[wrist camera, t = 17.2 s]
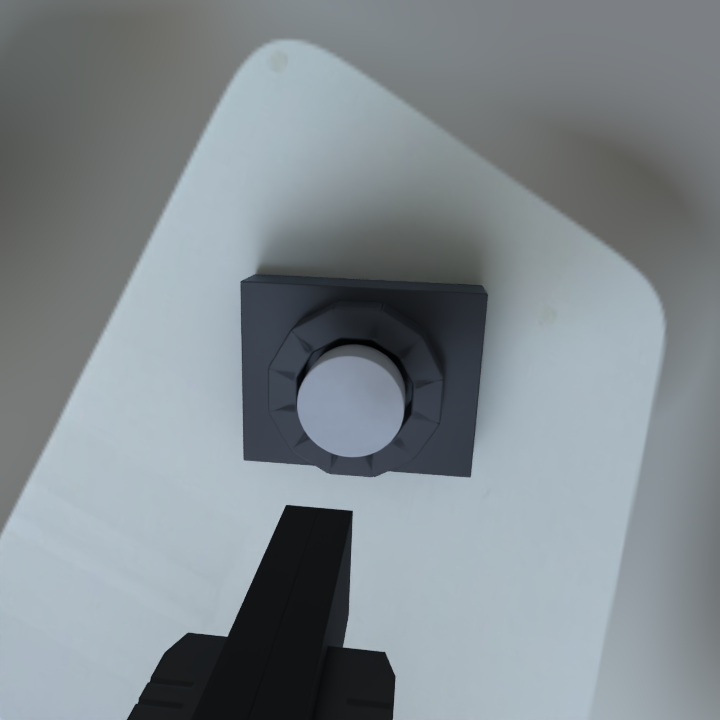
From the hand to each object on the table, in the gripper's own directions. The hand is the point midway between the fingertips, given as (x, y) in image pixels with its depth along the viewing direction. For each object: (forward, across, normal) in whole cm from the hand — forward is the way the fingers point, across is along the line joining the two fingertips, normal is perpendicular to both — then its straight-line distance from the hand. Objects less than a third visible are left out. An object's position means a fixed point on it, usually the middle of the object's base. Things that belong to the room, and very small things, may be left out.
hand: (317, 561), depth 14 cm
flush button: (+11, 0, 0) cm, 11 cm away
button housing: (+15, 0, 0) cm, 15 cm away
